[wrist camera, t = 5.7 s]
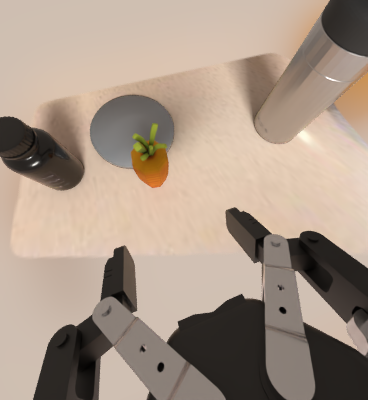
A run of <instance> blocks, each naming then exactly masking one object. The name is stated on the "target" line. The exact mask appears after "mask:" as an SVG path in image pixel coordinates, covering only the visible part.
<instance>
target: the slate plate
mask: <svg viewBox="0 0 368 400" xmlns="http://www.w3.org/2000/svg"><path fill="white" fill-rule="evenodd" d="M152 123H157V124H158V127H157V131H156V135H155V141H156V142H158V143H164V144H166V145H167V148H166V152H168V150H169V149H170V147H171V145H172V142H173V138H174V125H173V121H172V118H171V116H170V114H169V113H168V111H167V110H166V109H165V108H164V107H163V106H162V105H161V104H160V103H158V102H157V101H155V100H153V99H150V98H148V97H144V96H138V95H129V96H122V97H119V98H116V99H113V100H111V101H109V102H108V103H106V104H105V105H103V106H102V107H101V108H100V109H99V110H98V111H97V113H96V114H95V116H94V118H93V120H92V122H91V126H90V137H91V141H92V144H93V146H94V148H95V149H96V151H97V152H98V153H99V155H100V156H101V157H102V158H103V159H105V160H106V161H107V162H109V163H111V164H112V165H115V166H117V167H121V168H127V169H133V166H132V159H131V151H132V150H133V149H134V147H133V145H134V144H135V143H137V142H138V141H137V140H135V139H133V138H132V136H133V135H134V134H135V133H137V134H138V135H140V136H142V137H143V138H144V139H145V140H146V141H148V140H149V139H150V130H151V126H152Z"/></svg>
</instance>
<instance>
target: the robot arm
mask: <svg viewBox="0 0 368 400" xmlns="http://www.w3.org/2000/svg"><path fill="white" fill-rule="evenodd" d="M367 72H368V0H330V1H329V3H328V5H327V6H326V7H325V9H324V11H323V12H322V13H321V15H320V17H319V18H318V20H317V21H316V23H315V24H314V26H313V27H312V29H311V31H310V32H309V34H308V35H307V37H306V38H305V40H304V42H303V43H302V45H301V46H300V48H299V49H298V51H297V53H296V54H295V56H294V57H293V59H292V60H291V62H290V63H289V65H288V66H287V68H286V70H285V71H284V73H283V74H282V76H281V77H280V79H279V80H278V82H277V84H276V85H275V87H274V88H273V90H272V91H271V93H270V94H269V96H268V98H267V99H266V101H265V102H264V104H263V105H262V107H261V108H260V110H259V112H258V113H257V115H256V117H255V122H254V123H255V128H256V130H257V132H258V133H259V135H260V136H261V137H262V138H264V139H265V140H267V141H269V142H271V143H275V144H284V143H287V142H289V141H290V140H292V139H293V138H294V137H295V136H296V135H297V134H298V133H300V132H301V131H302V130H303V129H304V128H305V127H306V126H308V125H309V124H310V123H311V122H312V121H313V120H314V119H315V118H317V117H318V116H319V115H320V114H321V113H322V112H323V111H324V110H326V109H327V108H328V107H329V106H330V105H331V104H332V103H333V102H335V101H336V100H337V99H338V98H339V97H340V96H341V95H342V94H344V93H345V92H346V91H347V90H348V89H349V88H350V87H352V86H353V85H354V84H355V83H356V82H357V81H358V80H359V79H361V78H362V77H363V76H364V75H365V74H366V73H367ZM226 225H227V228H228V231H229V232H230V234H231V235H232V236H233V237H234V239H235V240H236V241H237V242H238V244H239V245H240V246H241V247H242V248H243V250H244V251H245V252H246V253H247V255H248V256H249V257H250V258H251V260H252V261H253V262H254V263H257V262H259V261H260V262H261V263H262V295H261V300H257V299H245V298H244V296H243V295H242V294H241V295H238V296H236V297H234V298H232V299H229V300H227V301H226V302H224V303H223V304H222V305H221V306H220V307H218V308H217V309H216V310H215V311H214V312H211V313H203V314H195V315H192V316H190V317H188V318H185V319H183V320H181V321H178V325H179V328H178V329H177V330H175V331H174V333H173V334H172V335H171V336H170V338H169V339H168V341H167V343H166V342H165V341H164V340H163V339H161V338H160V337H159V336H158V335H157V334H156V333H155V332H154V331H153V330H152V329H150V328H149V327H148V326H147V325H146V324H145V323H144V322H143V321H141V320H140V319H139V318H138V317H135V316H134V315H133V314H132V313H133V312H135V311H137V298H136V279H135V265H134V261H133V259H132V257H131V255H130V253H129V251H128V249H127V247H126V246H125V245H124V246H121V247H119V248H116V249H114V255H113V257H112V258H109V259H108V261H107V263H106V265H105V270H104V279H103V287H102V293H101V301H100V302H99V303H98V304H97V306H96V307H95V309H94V311H93V314H92V315H91V316H90V317H89V318H88V319H86V320H85V321H83V322H82V323H80V324H79V325H78V326H74V325H66V326H64V327H62V328H61V329H60V330H58V331H57V332H56V333H55V334H54V336H53V337H52V338H51V340H50V342H49V344H48V347H47V350H46V354H45V358H44V361H43V365H42V369H41V373H40V376H39V380H38V383H37V387H36V391H35V394H34V398H33V400H98V399H99V379H100V359H101V356H102V355H103V354H104V353H105V352H107V351H108V350H109V349H110V348H111V347H113V346H114V348H115V349H116V351H117V352H118V353H119V354H120V355H121V357H122V358H123V359H124V360H125V362H126V363H127V364H128V365H129V366H130V368H131V369H132V370H133V371H134V372H135V373H136V375H137V376H138V377H139V379H140V380H141V381H142V382H143V383H144V385H145V386H146V387H147V388H148V390H149V394H148V397H147V400H368V268H366V267H365V266H364V265H362V264H361V263H360V262H358V261H357V260H356V259H354V258H353V257H351V256H350V255H349V254H347V253H346V252H345V251H343V250H342V249H341V248H339V247H338V246H336V245H335V244H334V243H332V242H331V241H330V240H328V239H327V238H326V237H324V236H323V235H321V234H319V233H317V232H314V231H304V232H302V233H301V234H300V237H299V238H291V239H285V238H284V237H282V236H280V235H276V234H272V233H270V232H269V231H268V230H267V229H266V228H265V227H264V226H263V225H262V224H260V223H259V222H258V221H257V220H256V219H254V217H253V216H251V215H250V214H249V213H246V212H244V211H242V212H240V211H239V210H238V209H237V208H235V207H234V208H231V209H228V210H226ZM295 271H298V272H299V273H300V274H301V275H302V276H303V277H304V278H305V279H306V280H307V282H308V283H309V284H310V285H311V286H312V287H313V288H314V289H315V290H316V291H317V292H318V293H319V294H320V295H321V297H322V298H323V299H324V300H325V301H326V302H327V303H328V304H329V305H330V306H331V307H332V308H333V309H334V310H335V312H336V313H337V314H338V315H339V316H340V317H341V318H342V319H343V320H344V321H345V322H346V323H347V332H348V334H349V336H350V338H351V339H352V340H353V343H354V344H355V345H356V346H357V348H358V351H357V350H356V349H354V348H352V347H351V346H348V345H347V344H345V343H343V342H341V341H339V340H337V339H335V338H333V337H331V336H329V335H327V334H326V333H324V332H322V331H320V330H318V329H316V328H314V327H312V326H310V325H308V324H306V323H304V322H303V320H302V313H301V307H300V301H299V295H298V288H297V282H296V276H295Z"/></svg>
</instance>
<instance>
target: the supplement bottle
mask: <svg viewBox="0 0 368 400" xmlns="http://www.w3.org/2000/svg"><path fill="white" fill-rule="evenodd" d="M0 157H1V158H2V161H3V162H4V164H5V165H6V166H7V167H8V168H9V169H11V170H13V171H14V172H16V173H19V174H21V175H23V176H25V177H27V178H30V179H32V180H34V181H36V182H39V183H41V184H43V185H45V186H48V187H50V188H52V189H55V190H68V189H71V188H73V187H75V186H76V185H77V184H78V183H79V182H80V181H81V179H82V177H83V174H84V168H83V165H82V163H81V162H80V160H79V159H77V158H76V157H75V156H74V155H73V154H72V153H71V152H70V151H68V150H67V149H66V148H65V147H64V146H63V145H62V144H60V143H59V142H58V141H57V140H56V139H55V138H54V137H52V136H51V135H50V134H49V133H47V132H46V131H44V130H41V129H38V128H31V127H29V126H27V125H26V124H25V123H24V122H22V121H21V120H19V119H17V118H14V117H0Z"/></svg>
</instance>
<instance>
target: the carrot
mask: <svg viewBox="0 0 368 400" xmlns="http://www.w3.org/2000/svg"><path fill="white" fill-rule="evenodd" d="M157 127H158V124H157V123H152V126H151V130H150V139H149V140H148V141H146V140H145V139H144V138H143V137H142V136H140V135H138V134H137V133H135V134H134V135H133V136H132V138H133V139H135V140H137V141H138V142H137V143H135V144H134V145H133V147H134V149H133V150H132V151H131V159H132V166H133V169H134V171H135V172H136V174H137V175H138V177H139V178H140V179H141V180H142V181H143V182H144V183H146V184H147V185H149V186H150V187H152V188H155V187H160V186H161V185H162V184H163V182H164V181H165V180H166V178H167V175H168V157H167V152H166V148H167V145H166V144H164V143H158V142H156V141H155V135H156V131H157Z"/></svg>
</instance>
